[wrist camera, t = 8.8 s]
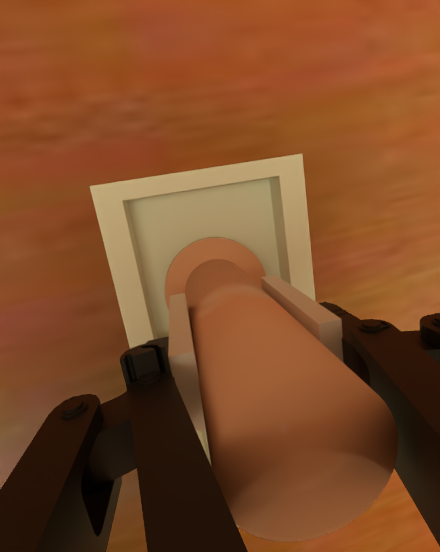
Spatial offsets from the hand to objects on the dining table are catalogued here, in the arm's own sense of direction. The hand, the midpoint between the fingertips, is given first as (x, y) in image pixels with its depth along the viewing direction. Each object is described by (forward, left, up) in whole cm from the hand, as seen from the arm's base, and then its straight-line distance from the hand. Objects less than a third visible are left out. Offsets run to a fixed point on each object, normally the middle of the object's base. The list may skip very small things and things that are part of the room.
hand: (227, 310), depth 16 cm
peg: (0, 0, -5) cm, 5 cm away
